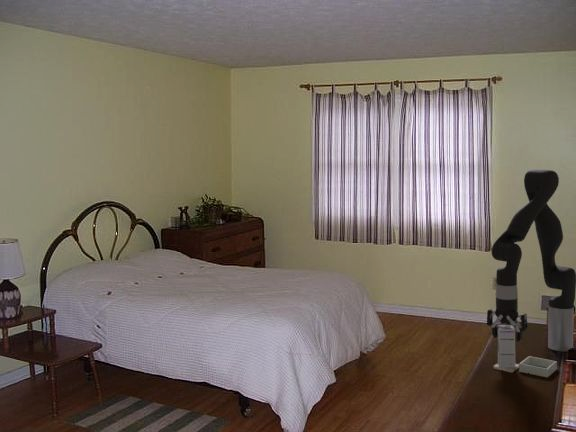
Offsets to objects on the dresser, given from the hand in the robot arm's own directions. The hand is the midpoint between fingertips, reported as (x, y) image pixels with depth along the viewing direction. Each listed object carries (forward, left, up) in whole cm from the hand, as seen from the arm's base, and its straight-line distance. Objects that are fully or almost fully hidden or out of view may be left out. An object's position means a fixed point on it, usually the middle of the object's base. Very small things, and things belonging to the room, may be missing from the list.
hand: (506, 339), depth 225 cm
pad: (0, 0, -11) cm, 11 cm away
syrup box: (0, 0, -10) cm, 10 cm away
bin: (-4, +10, -11) cm, 15 cm away
